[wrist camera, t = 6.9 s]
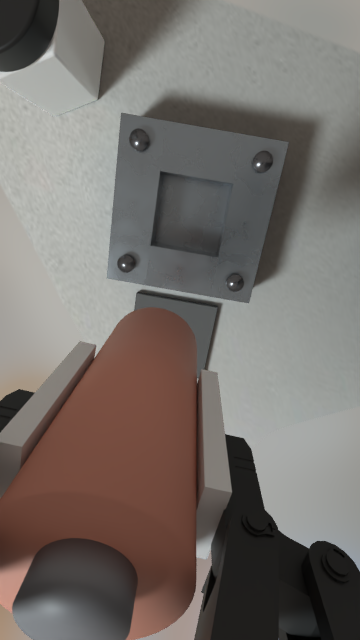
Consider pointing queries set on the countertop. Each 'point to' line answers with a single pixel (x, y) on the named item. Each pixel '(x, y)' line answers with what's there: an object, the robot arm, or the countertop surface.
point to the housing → (191, 206)
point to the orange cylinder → (110, 495)
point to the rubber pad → (186, 319)
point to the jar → (50, 53)
